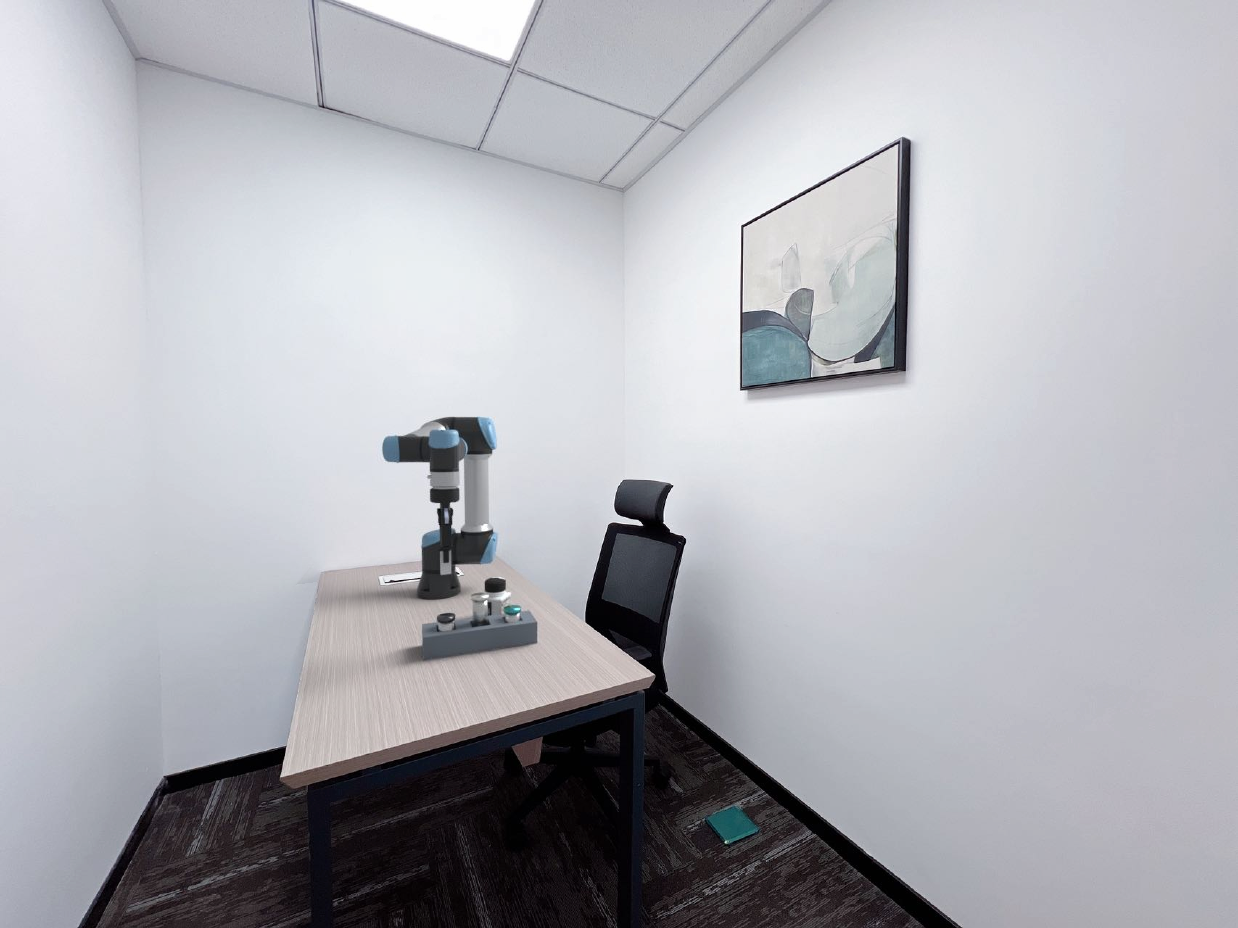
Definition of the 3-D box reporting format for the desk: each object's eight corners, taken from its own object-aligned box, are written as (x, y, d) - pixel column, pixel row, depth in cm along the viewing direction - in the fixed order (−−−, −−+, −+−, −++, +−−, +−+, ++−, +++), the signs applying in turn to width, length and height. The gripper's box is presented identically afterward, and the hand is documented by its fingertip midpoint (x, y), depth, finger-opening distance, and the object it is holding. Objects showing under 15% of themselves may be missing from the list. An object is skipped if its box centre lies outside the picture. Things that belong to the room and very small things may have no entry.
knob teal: (502, 634, 146) (502, 606, 146) (519, 632, 148) (519, 604, 148) (505, 640, 142) (505, 611, 141) (522, 638, 144) (522, 609, 143)
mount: (422, 645, 140) (422, 624, 140) (529, 629, 152) (529, 610, 152) (423, 660, 131) (423, 637, 131) (537, 642, 143) (537, 621, 142)
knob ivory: (470, 622, 142) (470, 593, 142) (487, 620, 144) (487, 591, 144) (472, 628, 138) (472, 598, 138) (490, 626, 140) (490, 596, 139)
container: (501, 624, 156) (501, 583, 155) (478, 622, 158) (478, 581, 157) (511, 615, 164) (511, 576, 163) (489, 613, 165) (489, 574, 165)
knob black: (436, 643, 139) (436, 614, 139) (454, 641, 141) (454, 611, 141) (437, 650, 135) (437, 620, 134) (456, 648, 137) (456, 617, 136)
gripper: (428, 485, 140) (430, 568, 142) (430, 490, 128) (432, 581, 130) (457, 484, 143) (458, 566, 145) (461, 489, 131) (462, 578, 133)
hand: (445, 573), depth 137 cm, fingers closed
